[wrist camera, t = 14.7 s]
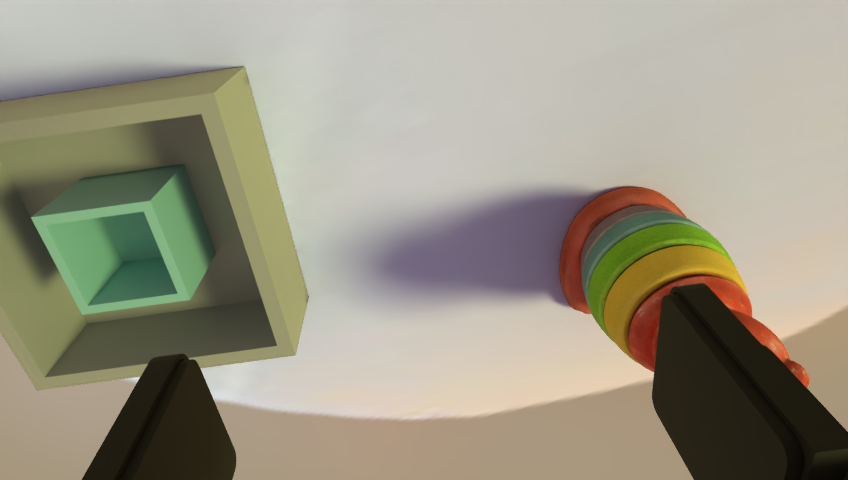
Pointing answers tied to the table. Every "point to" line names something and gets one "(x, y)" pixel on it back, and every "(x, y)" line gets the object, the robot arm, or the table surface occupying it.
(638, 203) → the stacking bear
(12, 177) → the big crate
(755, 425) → the robot arm
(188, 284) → the box
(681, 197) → the table surface
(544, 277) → the table surface
